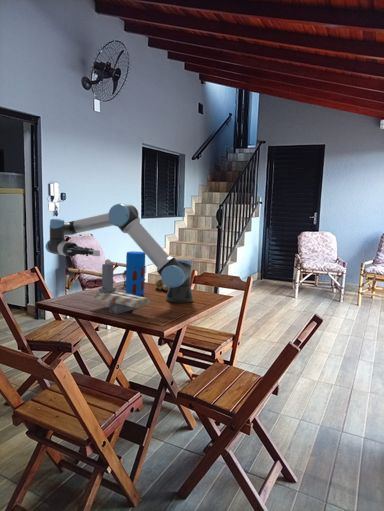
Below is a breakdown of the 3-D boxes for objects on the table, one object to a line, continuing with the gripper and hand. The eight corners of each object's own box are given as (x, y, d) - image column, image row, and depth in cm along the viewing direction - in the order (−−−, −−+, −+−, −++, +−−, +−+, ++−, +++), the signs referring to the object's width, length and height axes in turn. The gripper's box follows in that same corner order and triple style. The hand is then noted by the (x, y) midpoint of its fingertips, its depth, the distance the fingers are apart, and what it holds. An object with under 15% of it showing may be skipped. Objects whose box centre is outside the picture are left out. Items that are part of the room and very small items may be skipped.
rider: (98, 294, 184) (99, 259, 182) (110, 292, 190) (110, 258, 188) (104, 296, 182) (104, 260, 179) (115, 293, 188) (116, 259, 186)
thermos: (147, 294, 219) (149, 252, 216) (135, 297, 210) (137, 254, 207) (133, 291, 225) (135, 250, 222) (121, 294, 216) (122, 252, 213)
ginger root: (162, 283, 247) (164, 272, 245) (180, 292, 239) (183, 281, 237) (146, 287, 235) (148, 276, 232) (165, 297, 227) (167, 285, 224)
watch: (121, 285, 240) (121, 269, 239) (132, 284, 245) (132, 268, 244) (124, 287, 236) (125, 270, 235) (136, 286, 240) (136, 269, 239)
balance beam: (92, 308, 184) (92, 292, 183) (110, 303, 194) (110, 288, 193) (134, 319, 169) (135, 301, 168) (151, 313, 179) (151, 297, 178)
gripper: (77, 255, 206) (108, 259, 193) (58, 256, 195) (88, 261, 182) (78, 241, 205) (108, 245, 192) (58, 242, 194) (88, 246, 181)
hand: (98, 253), depth 187 cm, fingers closed
